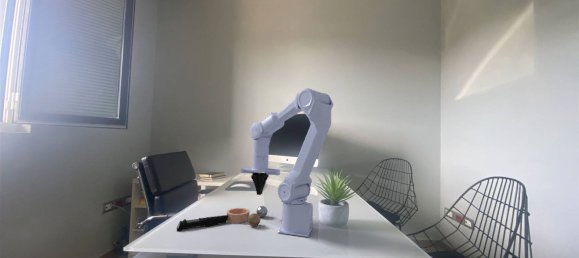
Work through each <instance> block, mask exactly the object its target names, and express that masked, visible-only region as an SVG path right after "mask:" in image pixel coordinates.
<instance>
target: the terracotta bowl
mask: <svg viewBox="0 0 579 258" xmlns="http://www.w3.org/2000/svg"><path fill="white" fill-rule="evenodd" d="M250 212H251V211H250V210H249V208H244V207H234V208H230V209H228V210H226V215H228V219H227V222H226V223H230V224H242V223H246V222H248V218H249V216H250Z"/></svg>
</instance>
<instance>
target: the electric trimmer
mask: <svg viewBox="0 0 579 258" xmlns="http://www.w3.org/2000/svg"><path fill="white" fill-rule="evenodd" d="M227 219H228V215H227V214H224V215H215V216H208V217H207V216H205V217H201V218H200V217H199V218H195V219H186V218H184V219H183V220H179V223H178V224H177V226H176V231H177V232H182V231H183V230H189V229H196V228H202V227H205V228H209V227H212V226H213V227H214V226H217V225H221V224H225V223H228V222H227Z"/></svg>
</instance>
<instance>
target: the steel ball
mask: <svg viewBox="0 0 579 258" xmlns="http://www.w3.org/2000/svg"><path fill="white" fill-rule="evenodd" d="M256 214H258V215H259V216H260V218H264V217H266V216H267V215H268V208H267V206H264V205H260V206H258V207H257V209H256Z"/></svg>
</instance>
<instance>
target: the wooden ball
mask: <svg viewBox="0 0 579 258" xmlns="http://www.w3.org/2000/svg"><path fill="white" fill-rule="evenodd" d="M247 223H248V225H250V226H251V227H253V228H254V227H258V225H260V223H261V217H260V216H259V215H258V214H257V212H256V213H255V212H253V213H251V214H249V218H248V221H247Z"/></svg>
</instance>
